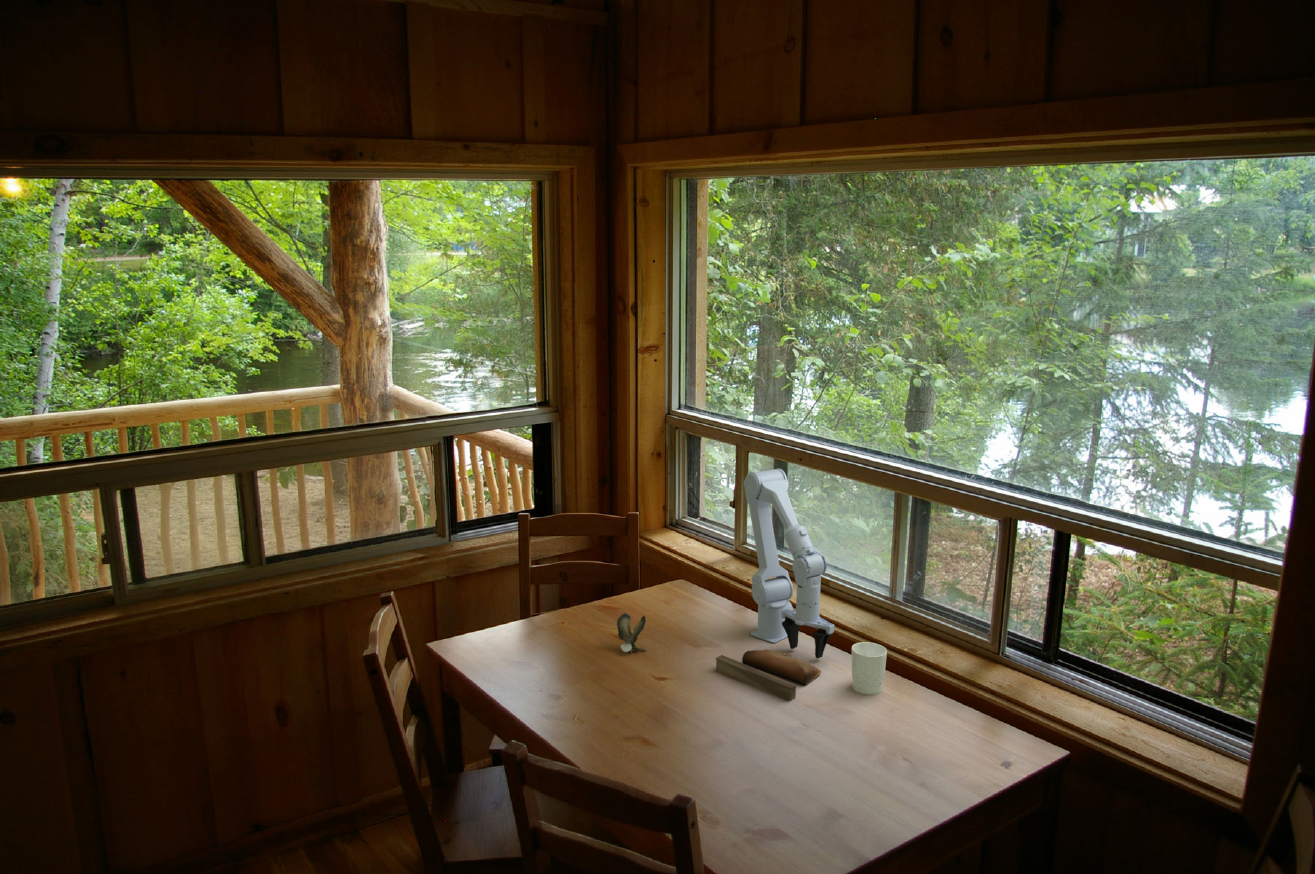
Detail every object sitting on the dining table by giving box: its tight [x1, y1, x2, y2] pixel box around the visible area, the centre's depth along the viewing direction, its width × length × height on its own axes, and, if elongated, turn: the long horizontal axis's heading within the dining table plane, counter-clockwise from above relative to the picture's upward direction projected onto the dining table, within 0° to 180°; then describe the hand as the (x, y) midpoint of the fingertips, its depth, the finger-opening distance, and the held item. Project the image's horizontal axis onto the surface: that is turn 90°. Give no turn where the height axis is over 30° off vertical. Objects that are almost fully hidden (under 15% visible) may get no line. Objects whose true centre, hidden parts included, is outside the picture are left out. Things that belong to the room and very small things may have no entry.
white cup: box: [851, 641, 888, 695], centre depth 204 cm, size 8×8×10 cm
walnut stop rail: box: [715, 654, 797, 702], centre depth 207 cm, size 2×22×3 cm, turn 45°
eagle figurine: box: [616, 612, 648, 655], centre depth 225 cm, size 8×7×9 cm
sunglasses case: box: [741, 649, 822, 686], centre depth 214 cm, size 18×7×7 cm
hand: (806, 652), depth 222 cm, fingers open, 7 cm apart
